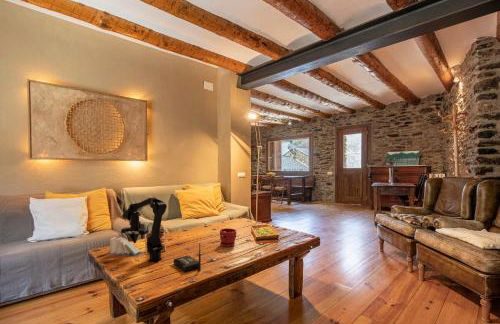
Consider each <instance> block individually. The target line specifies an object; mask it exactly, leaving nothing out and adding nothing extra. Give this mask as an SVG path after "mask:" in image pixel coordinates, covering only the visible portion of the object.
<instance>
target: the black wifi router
mask: <svg viewBox="0 0 500 324" xmlns="http://www.w3.org/2000/svg"><path fill="white" fill-rule="evenodd" d="M198 245H199V247H198V248H199V249H198V259H195V258H194V257H192V256H190V255H188V254H187V255H185V256H180V257H176V258H173V265H174V266H175V267H176V268H177V269H179V270H180V271H182V272H183V273H184V274H186V273H189V272H193V271H196V270H197V271H198V272H201V261H202V259H201V257H202V256H201V243H199V244H198Z"/></svg>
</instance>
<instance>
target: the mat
mask: <svg viewBox="0 0 500 324" xmlns="http://www.w3.org/2000/svg"><path fill="white" fill-rule="evenodd" d="M144 253H145V251H140V252H139V253H138V254H136V255H133V253H130V254H127V252H126V253H124V254H122V252H120V253H118V254H116V251H115V252H113V253H110V251H108V252H107V253H105V254H106V255H112V256H113V255H115V256H124V257H126V256H127V257H134V258H135V257H136V258H137V257H139V256H140V255H143V254H144Z"/></svg>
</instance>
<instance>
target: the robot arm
mask: <svg viewBox="0 0 500 324" xmlns="http://www.w3.org/2000/svg"><path fill="white" fill-rule="evenodd" d="M147 206H149V207H150V208H151V209H152V213H153V214H154V216H153V223H152V228H151V235H150V236H148V237H146V242H145V243H146V250H147V253H149V257H148V258H149V260H148V262H151V263H159V261H161V260H163V257H162V250H164V245H163V244H162V242H161V237H160V231H161V227H162V219H163V215H164V214H165V213H166V211H167V206H168V205H167V204H166V202H164V201H163V200H161V199H159V198H157V197H153V196H152V197H148V198H147V199H146V198H145V199H143V200H142V201H139V202H136V203H130V204H129V206H128V207H127V210H126V209H125V210H124V212H123V214H122V215H121V216H122V219H123V220H126V221H129V223H128V224H129V226H130V227H127V226H126V227H123V228H121V230H120V233H121V234H126V233H127V235H128V237H130V239H131V241H132V244H136V242H137V240H138V238H139V236H140V235H141V236H145V235H146V234H149V232H150V231H149V229H148V228H145V226H146V225H145V224H144V223H141V221H140V216H142V213H141V212H140V211H142V210H143V208H145V207H147Z"/></svg>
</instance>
